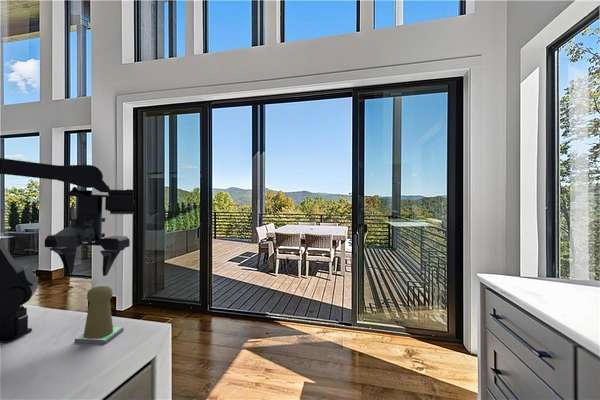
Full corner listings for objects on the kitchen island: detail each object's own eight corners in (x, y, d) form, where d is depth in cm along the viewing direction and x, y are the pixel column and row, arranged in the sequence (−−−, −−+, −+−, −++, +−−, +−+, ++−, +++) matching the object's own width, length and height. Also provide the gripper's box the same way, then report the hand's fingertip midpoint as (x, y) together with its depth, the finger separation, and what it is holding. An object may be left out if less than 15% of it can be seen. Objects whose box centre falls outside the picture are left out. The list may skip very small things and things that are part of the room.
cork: (99, 340, 72) (101, 292, 72) (76, 337, 73) (78, 289, 73) (119, 329, 78) (120, 285, 78) (98, 326, 79) (99, 282, 79)
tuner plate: (74, 342, 72) (74, 338, 72) (95, 329, 79) (95, 325, 79) (105, 344, 72) (105, 340, 72) (123, 330, 79) (123, 327, 79)
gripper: (25, 215, 73) (23, 282, 74) (104, 218, 73) (102, 285, 73) (62, 212, 84) (61, 270, 85) (131, 215, 84) (129, 273, 84)
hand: (87, 274), depth 81 cm, fingers open, 9 cm apart
